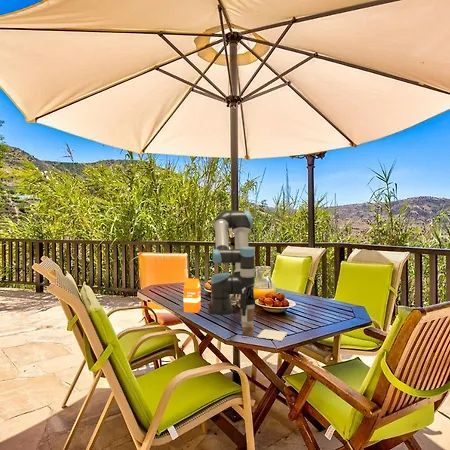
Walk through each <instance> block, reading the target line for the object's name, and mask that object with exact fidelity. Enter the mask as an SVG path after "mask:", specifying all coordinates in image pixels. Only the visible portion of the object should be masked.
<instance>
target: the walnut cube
mask: <svg viewBox="0 0 450 450" xmlns="http://www.w3.org/2000/svg"><path fill="white" fill-rule="evenodd" d="M254 325H255V324H254V323H253V324H243V327H242V326H241V327H242V328H241V329H242V335H241V336H250V337H253V338H254V335H253V334H254V331H255V330H254V328H255V327H254Z"/></svg>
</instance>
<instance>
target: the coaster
mask: <svg viewBox="0 0 450 450" xmlns="http://www.w3.org/2000/svg"><path fill="white" fill-rule="evenodd" d="M287 335H288V332H287V331H281V330H274V329H263V330H262V331H261V332H260V333H258V334H257V336H256V338H257V337H258V338H266V339H273V340H278V341H282V340H283V339H284V340H285V338H286V337H287ZM285 336H286V337H285ZM284 340H283V341H284ZM278 341H277V342H278ZM283 341H282V342H283Z"/></svg>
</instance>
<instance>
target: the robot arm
mask: <svg viewBox="0 0 450 450" xmlns="http://www.w3.org/2000/svg"><path fill="white" fill-rule="evenodd" d="M213 229H214V231H215V249H213V250H212V263H214V264H215V263H216V264H232V263H233V264H235V270H234V271H233V272H232V274H230V272H221V273H215V274H213V275H211V278H210V284H211V285H210V301H209V303H208V307H207V312H208V313H209V314H210V315H221V316H222V315H223V316H224V315H229V314H232V313H233V311H234V308H233V304H232V301H231V295H240V299H241V300H239V310H240V309H242V322H247V309H246V308H247V301H248V298H251V297H253V298H254V299H255V295H254V291H255V290H254V289H255V279H256V278H255V273H256V270H255V258H256V257H255V255H256V253H255V247H253V246H249V233H250V231H251V229H253V219H252V214H251V212H250V211H249V210H224V211H222V212H220V213H219V214H217V216H216V217H215V218H214V221H213ZM228 229H231V231H232V233H234V248H233V249H232V248H231V249H230V247H229V246H230V245H229V233H228ZM242 322H241V323H242Z"/></svg>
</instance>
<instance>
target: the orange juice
mask: <svg viewBox="0 0 450 450" xmlns="http://www.w3.org/2000/svg"><path fill="white" fill-rule="evenodd" d="M201 289H202V288H201V282H200V278H190V277H189V278H188V277H187V278H185V280H184V286H183V312H184V313H195V314H196V313H197V314H198V313H199V312H200V311H201V309H202V306H201V305H202V304H201V303H202V302H201V298H202V297H201V296H202V295H201V293H202V292H201Z"/></svg>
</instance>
